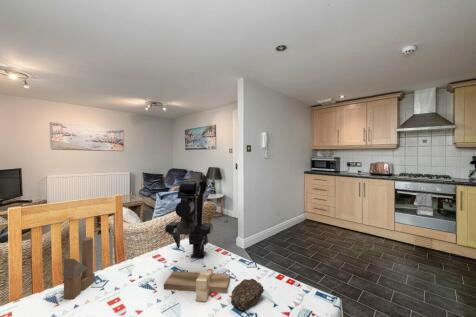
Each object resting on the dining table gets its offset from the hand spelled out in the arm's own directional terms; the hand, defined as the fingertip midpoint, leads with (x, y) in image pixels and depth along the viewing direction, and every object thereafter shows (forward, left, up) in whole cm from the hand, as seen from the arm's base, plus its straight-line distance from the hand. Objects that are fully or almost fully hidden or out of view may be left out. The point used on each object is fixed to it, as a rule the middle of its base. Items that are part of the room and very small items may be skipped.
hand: (189, 248), depth 86 cm
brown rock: (+11, +24, -12) cm, 29 cm away
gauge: (+7, +9, -12) cm, 16 cm away
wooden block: (+12, -38, -12) cm, 42 cm away
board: (+4, +5, -12) cm, 14 cm away
